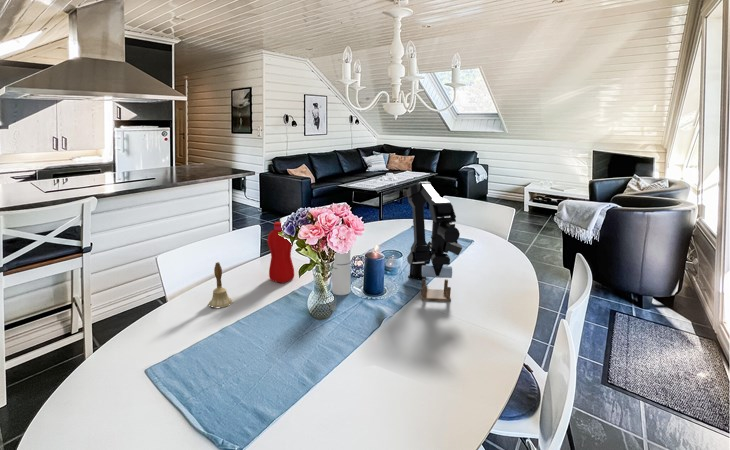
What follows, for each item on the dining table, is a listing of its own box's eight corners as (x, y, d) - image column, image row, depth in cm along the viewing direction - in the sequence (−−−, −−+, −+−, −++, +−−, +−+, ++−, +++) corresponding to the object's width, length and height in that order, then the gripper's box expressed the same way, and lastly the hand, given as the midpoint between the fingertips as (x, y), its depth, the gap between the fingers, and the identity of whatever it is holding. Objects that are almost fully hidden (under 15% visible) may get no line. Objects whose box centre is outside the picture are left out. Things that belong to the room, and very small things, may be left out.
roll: (422, 278, 146) (423, 268, 145) (421, 274, 151) (422, 263, 149) (451, 279, 146) (452, 269, 145) (449, 275, 150) (450, 264, 149)
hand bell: (232, 297, 147) (229, 257, 143) (232, 307, 139) (228, 265, 135) (209, 299, 145) (205, 259, 140) (207, 310, 137) (203, 268, 133)
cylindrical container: (347, 296, 149) (348, 234, 142) (330, 294, 151) (329, 233, 144) (352, 288, 156) (352, 229, 149) (335, 286, 157) (334, 227, 150)
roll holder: (422, 300, 147) (423, 287, 145) (420, 291, 154) (421, 278, 153) (450, 301, 146) (451, 288, 145) (447, 292, 154) (448, 279, 152)
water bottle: (300, 276, 167) (298, 220, 160) (282, 285, 158) (279, 226, 151) (284, 271, 171) (282, 217, 164) (266, 280, 162) (262, 222, 156)
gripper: (466, 243, 134) (462, 284, 138) (457, 228, 152) (453, 264, 156) (434, 242, 135) (431, 283, 139) (428, 227, 153) (426, 263, 157)
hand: (436, 273), depth 148 cm, fingers closed on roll, 4 cm apart
